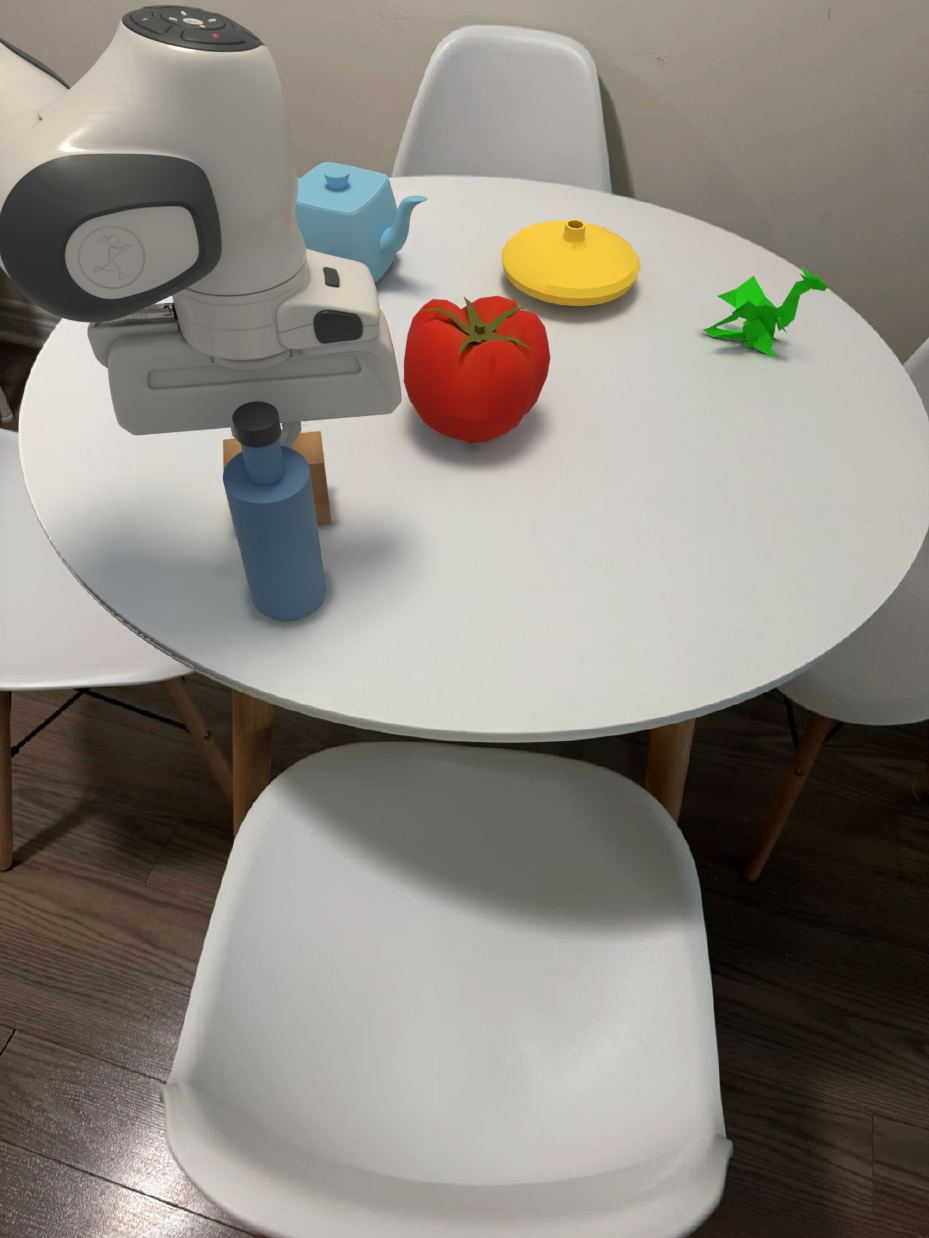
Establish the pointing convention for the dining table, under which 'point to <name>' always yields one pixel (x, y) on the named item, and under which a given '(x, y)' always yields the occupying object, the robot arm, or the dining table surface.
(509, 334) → the tomato
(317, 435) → the prop block
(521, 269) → the vase
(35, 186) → the robot arm
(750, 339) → the figurine
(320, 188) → the teapot
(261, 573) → the bottle
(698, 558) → the dining table surface
